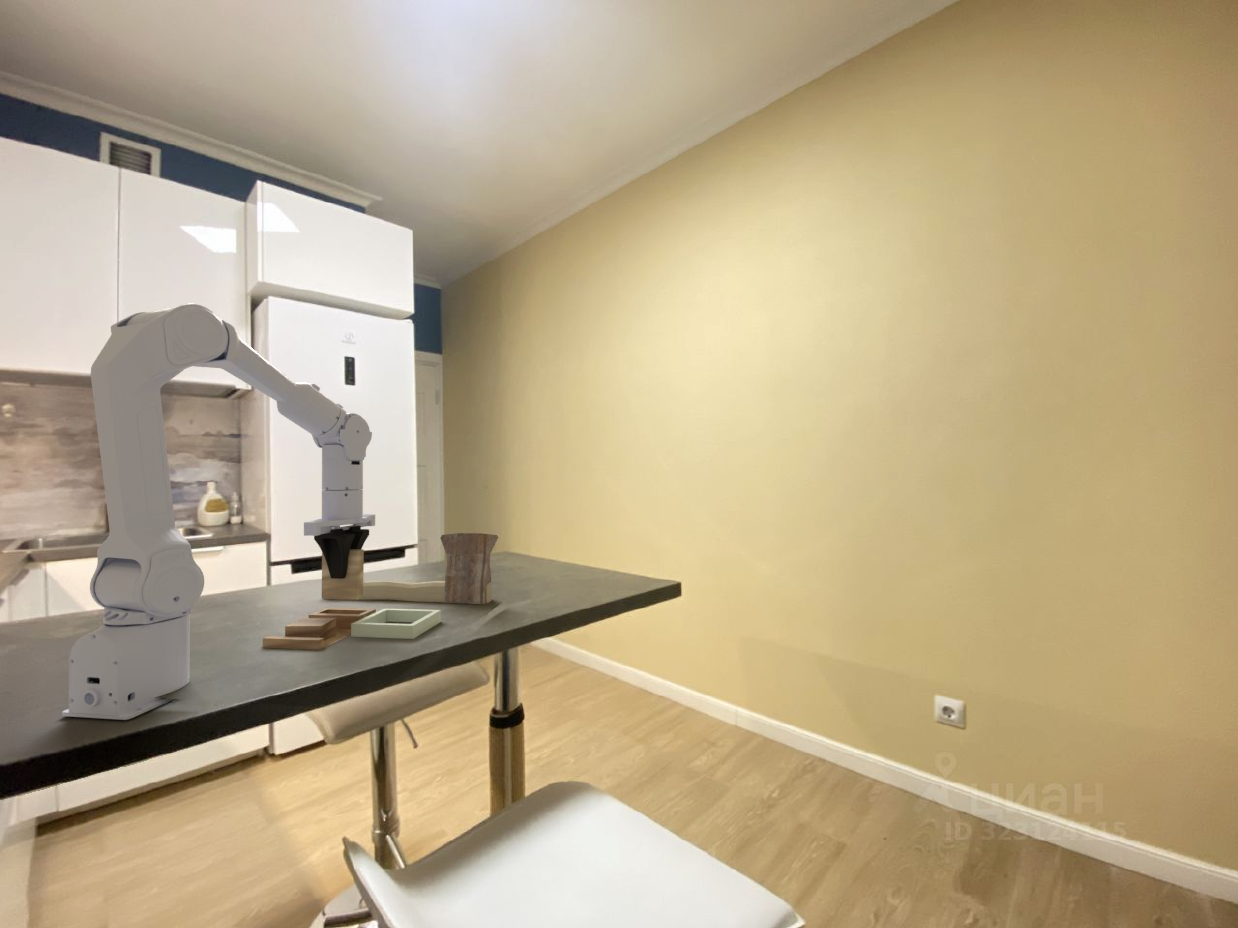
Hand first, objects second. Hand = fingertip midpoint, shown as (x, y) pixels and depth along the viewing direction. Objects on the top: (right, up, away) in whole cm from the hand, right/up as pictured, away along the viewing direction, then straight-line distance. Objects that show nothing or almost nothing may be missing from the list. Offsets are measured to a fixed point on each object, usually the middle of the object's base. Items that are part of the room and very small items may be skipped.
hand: (342, 576), depth 83 cm
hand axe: (+4, -9, +16) cm, 19 cm away
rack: (0, -8, -4) cm, 9 cm away
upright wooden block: (0, -3, 0) cm, 3 cm away
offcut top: (-1, -6, -7) cm, 9 cm away
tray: (+10, -8, -2) cm, 13 cm away
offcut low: (-1, -7, -7) cm, 10 cm away
